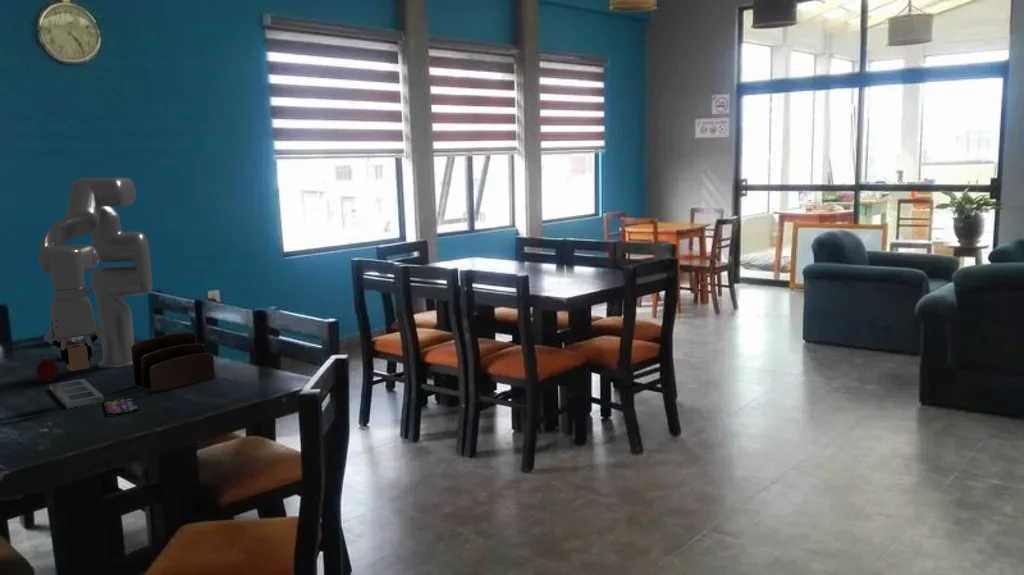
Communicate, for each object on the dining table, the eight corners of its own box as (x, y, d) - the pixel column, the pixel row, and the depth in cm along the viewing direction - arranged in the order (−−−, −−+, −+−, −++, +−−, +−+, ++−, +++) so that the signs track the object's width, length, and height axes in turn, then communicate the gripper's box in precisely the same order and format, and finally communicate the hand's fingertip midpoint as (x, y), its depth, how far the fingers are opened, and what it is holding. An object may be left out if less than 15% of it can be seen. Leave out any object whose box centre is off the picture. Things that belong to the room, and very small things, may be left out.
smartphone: (134, 396, 226) (139, 409, 213) (135, 399, 227) (140, 413, 214) (102, 400, 223) (106, 415, 210) (103, 404, 223) (106, 418, 210)
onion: (64, 381, 246) (61, 355, 245) (46, 386, 241) (43, 359, 240) (51, 379, 248) (48, 354, 247) (33, 384, 243) (30, 358, 242)
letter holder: (134, 389, 236) (129, 341, 234) (197, 374, 252) (193, 328, 250) (152, 394, 230) (147, 345, 228) (216, 378, 246) (212, 332, 243)
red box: (90, 347, 283) (73, 330, 279) (92, 350, 277) (74, 334, 273) (73, 361, 280) (55, 345, 277) (74, 365, 275) (56, 349, 271)
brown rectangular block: (85, 365, 225) (83, 343, 224) (89, 368, 221) (86, 345, 220) (67, 368, 222) (64, 345, 221) (70, 371, 218) (68, 348, 217)
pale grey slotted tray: (84, 385, 241) (83, 378, 241) (104, 403, 222) (103, 395, 222) (50, 391, 236) (49, 384, 235) (67, 409, 217) (66, 402, 217)
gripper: (101, 289, 227) (108, 354, 229) (31, 297, 216) (39, 364, 219) (108, 292, 221) (114, 359, 223) (36, 300, 210) (44, 369, 213)
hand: (77, 361), depth 221 cm, fingers closed on brown rectangular block, 4 cm apart
